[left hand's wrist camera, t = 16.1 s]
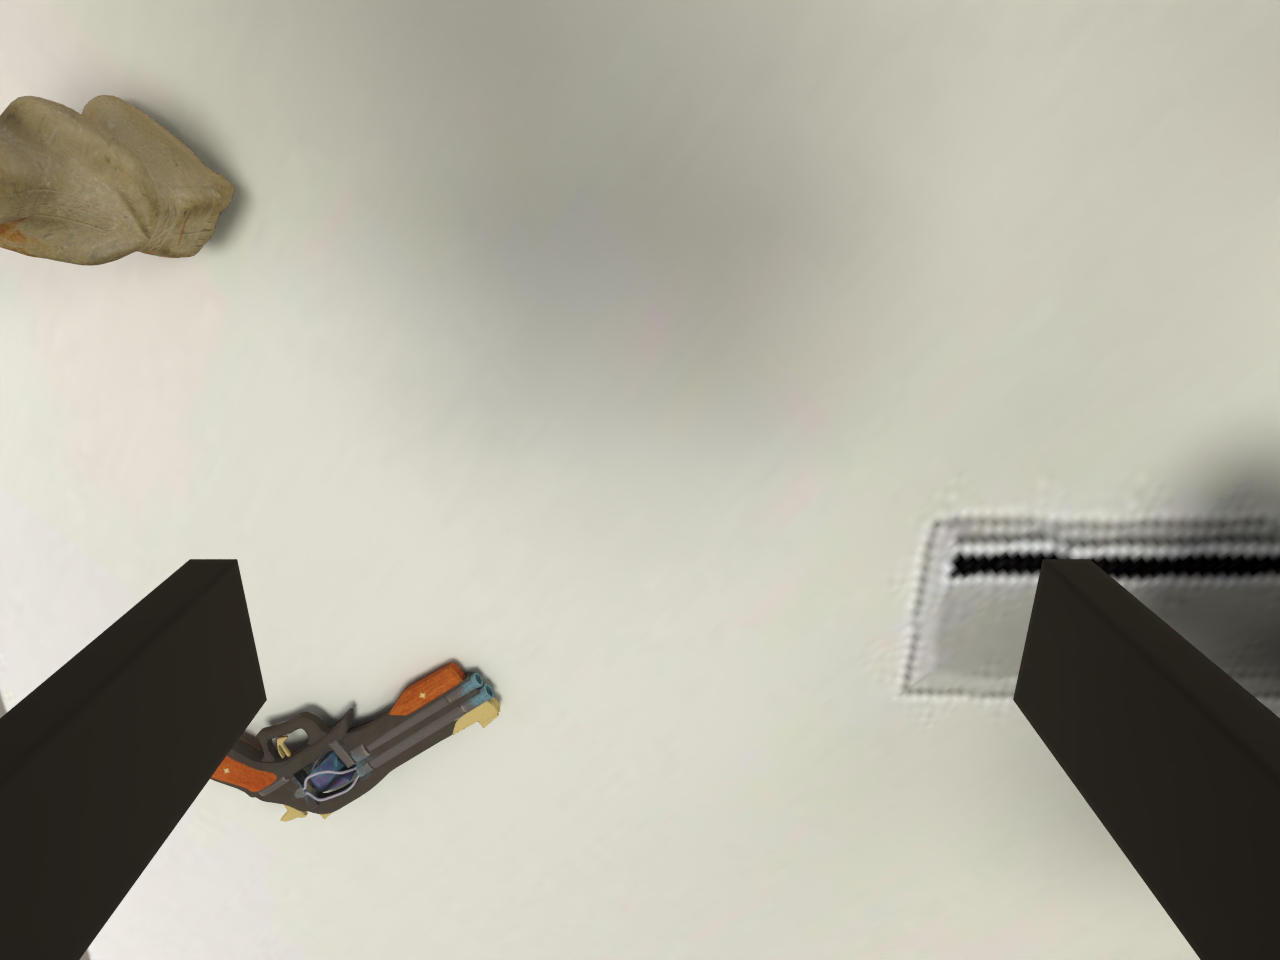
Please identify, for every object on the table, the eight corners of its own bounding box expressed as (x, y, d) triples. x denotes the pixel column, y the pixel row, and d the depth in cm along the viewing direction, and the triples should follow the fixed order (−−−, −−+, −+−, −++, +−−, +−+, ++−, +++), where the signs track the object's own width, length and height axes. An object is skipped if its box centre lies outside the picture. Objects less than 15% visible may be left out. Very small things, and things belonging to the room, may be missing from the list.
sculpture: (131, 73, 35) (-206, 0, 21) (269, 182, 37) (41, 183, 23) (74, 177, 37) (-274, 174, 23) (209, 278, 38) (-38, 333, 24)
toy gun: (145, 752, 46) (253, 872, 48) (400, 590, 44) (502, 723, 45) (173, 727, 49) (273, 842, 51) (414, 573, 46) (509, 700, 48)
